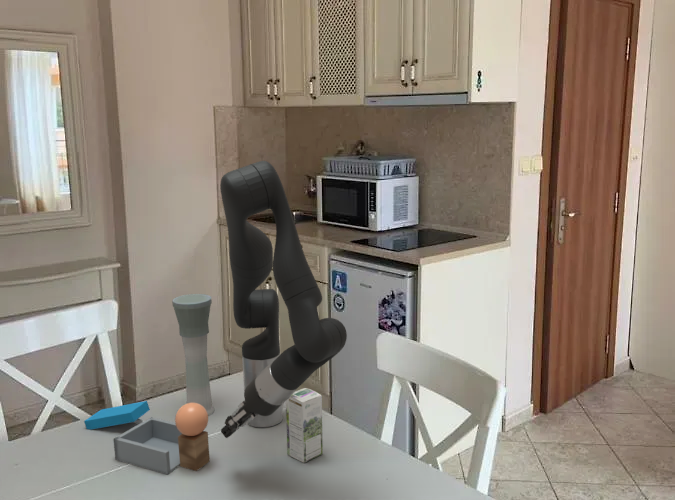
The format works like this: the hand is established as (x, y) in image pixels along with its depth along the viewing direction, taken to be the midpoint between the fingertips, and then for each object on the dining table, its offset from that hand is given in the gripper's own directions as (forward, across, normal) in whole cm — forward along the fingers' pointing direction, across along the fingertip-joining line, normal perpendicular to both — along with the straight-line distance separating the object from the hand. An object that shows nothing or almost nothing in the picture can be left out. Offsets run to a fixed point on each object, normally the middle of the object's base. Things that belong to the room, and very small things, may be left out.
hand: (225, 433), depth 142 cm
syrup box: (-1, -14, +14) cm, 20 cm away
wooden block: (+13, 0, 0) cm, 13 cm away
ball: (+5, 0, -7) cm, 9 cm away
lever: (+32, -7, -19) cm, 38 cm away
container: (+24, -22, -11) cm, 34 cm away
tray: (+20, 0, -7) cm, 21 cm away
